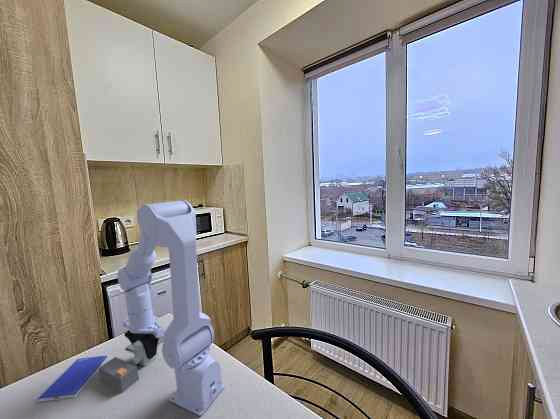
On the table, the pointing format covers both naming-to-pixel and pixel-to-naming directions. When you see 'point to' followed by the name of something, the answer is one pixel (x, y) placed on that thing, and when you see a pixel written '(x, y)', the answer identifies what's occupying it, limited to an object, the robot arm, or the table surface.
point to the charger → (141, 355)
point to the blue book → (73, 379)
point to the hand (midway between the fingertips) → (146, 354)
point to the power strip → (119, 374)
